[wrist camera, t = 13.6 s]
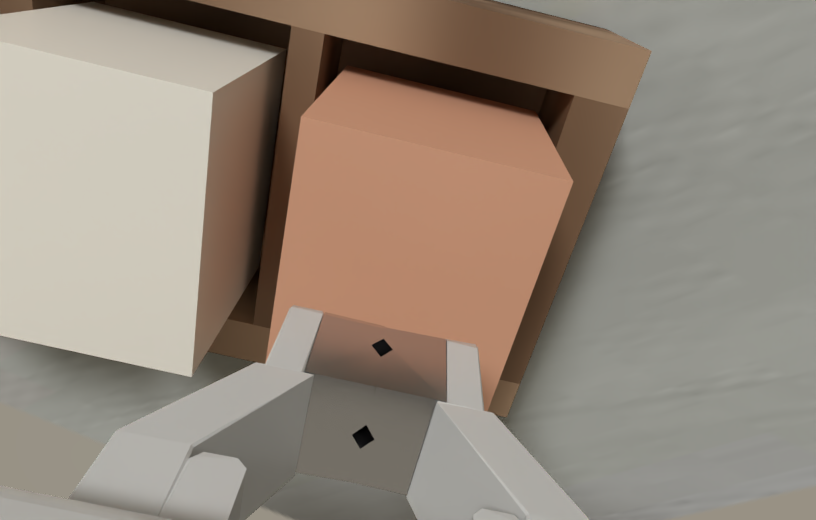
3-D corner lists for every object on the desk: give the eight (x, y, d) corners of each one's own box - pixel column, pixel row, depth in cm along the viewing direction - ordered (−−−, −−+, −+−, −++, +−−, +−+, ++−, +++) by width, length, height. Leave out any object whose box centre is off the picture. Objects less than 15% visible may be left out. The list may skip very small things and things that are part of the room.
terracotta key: (535, 111, 14) (573, 181, 10) (468, 316, 17) (475, 443, 13) (347, 65, 14) (301, 116, 10) (310, 280, 17) (260, 397, 13)
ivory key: (286, 49, 14) (212, 92, 10) (259, 266, 17) (191, 377, 13) (93, 1, 14) (-72, 24, 10) (96, 229, 17) (-31, 328, 12)
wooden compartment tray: (606, 29, 16) (651, 51, 12) (496, 336, 20) (507, 417, 17) (-170, -167, 15) (-363, -205, 11) (-104, 200, 19) (-227, 256, 16)
